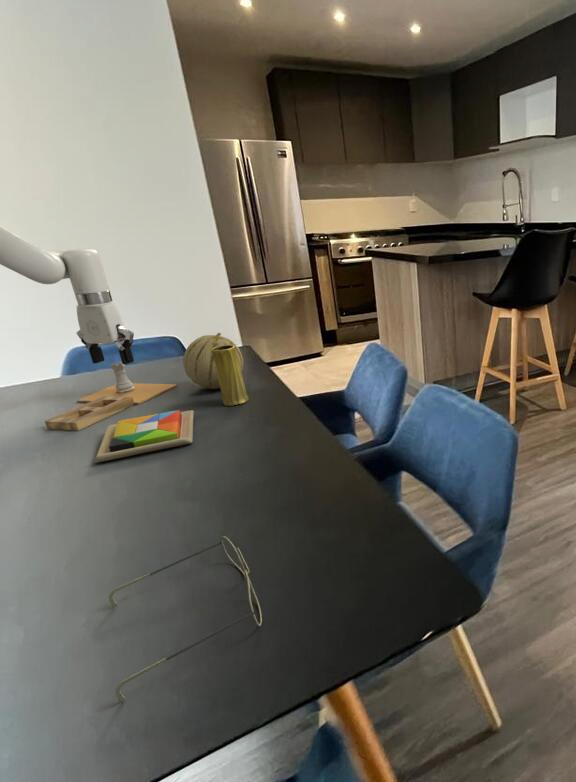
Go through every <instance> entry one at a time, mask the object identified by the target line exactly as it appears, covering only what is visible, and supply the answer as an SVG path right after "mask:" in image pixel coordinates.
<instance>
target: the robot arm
mask: <svg viewBox="0 0 576 782" xmlns="http://www.w3.org/2000/svg"><path fill="white" fill-rule="evenodd" d="M0 265H1V266H2V267H5V268H6V269H9V270H11V271H12V272H15V273H16V274H18V275H21V276H24V277H25V278H27V279H29V280H31V281H33V282H36V283H38V284H41V285H53V284H57V283H59V282H60V281H62V280H65V279H69V281H70V284H71V286H72V290H73V293H74V296H75V299H76V302H77V305H76V316H77V321H78V326H79V330H78V331H76V335H77V337H78V338H79V339H80V341H81V343H82V344H83V345H84V346H85V348H86V349H87V350H88V352H89V356H90V358H91V361H92V364H95V365H96V364H98V363H101V362H104V361H105V356H104V353H103V350H102V347H101V346H99V345H111V344H114V345H116V346H117V347H118V348H119V349H118V354H119V357H120V361H121V362H122V364H124V365H125V366H126V365H129V364H131V363H134V361H135V359H134V356H133V352H132V349H131V348H132V347H133V343H134V337H135V336H134V335H135V334H134V332H133V331H132V330H129V329H128V328H126V327H125V326H124V322H123V319H122V317H121V315H120V313H119V310H118V308H117V306H116V304H115V303H114V301H113V298H112V294H111V291H110V290H111V289H110V287H109V284H108V280H107V277H106V274H105V271H104V267H103V266H104V265H103V263H102V259H101V256H100V253H99V252H98V251H97V250H96V249H94V248H74V249H67V250H47V249H43V248H41V247H39V246H38V245H35V244H34V243H31V242H29V241H28V240H26V239H24V238H22V237H20V236H18V235H17V234H15V233H13V232H12V231H10V230H8V229H7V228H5V227H3V226H2V225H0Z"/></svg>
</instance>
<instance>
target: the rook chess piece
mask: <svg viewBox="0 0 576 782" xmlns="http://www.w3.org/2000/svg"><path fill="white" fill-rule="evenodd" d="M125 367H126V365H125V364H122V361H118V362H113V363H111V367H110V368H111V369H112V370H113V374H114V375H115V379H116V383H115V385H116V386H115V388H116V389H117V390H116V392H118V393H126V392H130V391H132V390H134V388H135V387H134V386H133V383H134V382H132V381H131V380H130V379H129V377H128V375H127V374H126V370H125Z"/></svg>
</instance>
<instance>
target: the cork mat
mask: <svg viewBox="0 0 576 782" xmlns="http://www.w3.org/2000/svg"><path fill="white" fill-rule="evenodd" d="M132 383H133V386H134V387H135V388H134V390H132V391H130V392H126V393H118V392H116V390H117V389H116V388H115V386H116V384H113V385H111V386H108V387H106V388H103V389H101V390H98V391H96V392H94V393H91V394H89V395H87V396H84V397H82V398H79V399H77V400H76V403H89V402H91V401H93V400H96V399H98V398H101V397H103V396H111V397H132V398H133V401H134V405H141V404H143V403H145V402H148V401H149V400H152V399H153V398H155V397H157V396H160V395H162V394H165V393H166V392H169V391H170V390H172V389H174V388H176V387H178V384H174V383H137V382H132Z"/></svg>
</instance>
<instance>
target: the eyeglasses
mask: <svg viewBox="0 0 576 782" xmlns="http://www.w3.org/2000/svg"><path fill="white" fill-rule="evenodd" d="M223 539H225V540H227V542H228V543H229V544H230V546H231V547H232V548H233V550H234V552H235V554H236V556H237V558H238V561H239V563H240V565H241V566H239V565H237V563H236V562H235V561H234V560H233V559H232V558H231V556H230V555H229V553H228V551H227V549H226V547H225V544H224V541H223ZM220 545H221V546H222V548H223V550H224V552H225V555H226V557H227V558H228V559H229V560H230V562H231V563H232V564H233V565H234V566H235V567H236V568H237V569H238V570H239V571H240V572H241V573H242V574H243V575H244V580H246V582H247V593H248V602H249V606H250V611H251V612H250V613H248V614H246V615H244V616H242V617H240V618H239V619H237V620H234V621H233V622H231V623H230V624H227V625H226V626H224V627H222V628H220V629H218V630H216V631H215V632H212V633H210V634H208V635H207V636H205V637H203V638H201V639H199V640H198V641H195V642H194V643H191V644H189V645H188V646H185V647H184V648H182V649H181V650H179V651H177V652H175V653H173V654H171V655H169V656H167V657H164V658H163V659H161V660H158V661H156V662H155V663H153V664H150V665H149V666H147V667H145V668H143V669H141V670H140V671H138V672H136V673H134V674H133V675H130V676H129V677H127V678H125V679H123V680H122V681H121V682H120V683H118V685H117V686H116V688H115V697H116V698H117V701H118V703H120V704H121V703H123V702H125V701H126V697H125V696H124V695H123V694H122V692H121V689H122V687H123V686H124V685H125V684H127V683H128V682H130V681H132V680H135V679H136V678H138V677H140V676H142V675H144V674H145V673H148V672H149V671H151V670H153V669H156V667H159V666H160V665H163V664H164V663H166V662H168V661H170V660H171V659H173V658H175V657H177V656H178V655H181V654H183V653H185V652H186V651H188V650H190V649H191V648H194V647H196V646H197V645H199V644H201V643H203V642H205V641H207V640H209V639H211V638H212V637H214V636H216V635H218V634H220V633H222V632H224V631H225V630H227V629H229V628H231V627H233V626H235V625H237V624H238V623H240V622H242V621H244V620H246V619H247V618H250V617H253V619H254V622H255V623H256V626H257V627H261V626H262V623H263V615H262V609H261V605H260V602H259V599H258V597H257V593H256V592H255V590H254V587H253V584H252V582H251V579H250V577H249V573H250V572H251V570H250V568H249V567H248V564H247V562H246V561H245V557H244V556H243V554H242V552H241V550H240V548H239V547H235V545H234V544H233V542H232V541H231V540H230V539H229V538H228V537H227V536H225V535H222V536H221V537H220V541H219V542H217V543H215V544H212V545H210V546H208V547H205V548H203V549H201V550H199V551H196V552H194V553H192V554H190V555H187V556H185V557H183V558H181V559H179V560H176V561H174V562H172V563H169V564H167V565H165V566H163V567H160V568H159V569H156V570H154V571H152V572H150V573H147V574H145V575H142V576H140V577H138V578H135V579H133V580H131V581H129V582H126V583H124V584H122V585H120V586H117V587H115V588H114V589H112V590H111V592H110V593H109V595H108V601H109V603H110V605H111V607H112V608H114V607H116V606H118V604H117V601H115V599H114V594H115V593H116V592H118V591H120V590H122V589H125V588H127V587H130V586H132V585H134V584H136V583H138V582H140V581H143V580H145V579H147V578H149V577H151V576H153V575H156V574H158V573H159V572H162V571H164V570H167V569H169V568H171V567H173V566H175V565H178V564H180V563H182V562H185V561H186V560H188V559H191V558H193V557H195V556H197V555H200V554H202V553H205V552H206V551H209V550H211V549H213V548H216V547H217V546H220ZM241 558H242V559H241ZM244 565H245V566H244ZM245 567H246V569H245ZM251 591H252V594H253V596H254V598H255V601H256V604H257V608H258V612H259V621H258V620H257V617H256V614H255V610H254V606H253V604H252V603H253V602H252V597H251Z"/></svg>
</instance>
